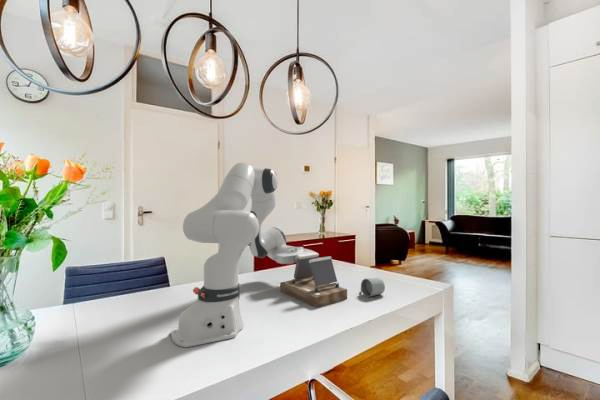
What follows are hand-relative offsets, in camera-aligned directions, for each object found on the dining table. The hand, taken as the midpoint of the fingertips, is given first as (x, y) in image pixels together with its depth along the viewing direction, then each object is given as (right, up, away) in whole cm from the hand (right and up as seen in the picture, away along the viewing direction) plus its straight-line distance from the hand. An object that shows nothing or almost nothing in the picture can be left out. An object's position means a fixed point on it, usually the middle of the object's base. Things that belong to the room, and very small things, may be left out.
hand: (305, 259), depth 139 cm
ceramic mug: (+29, -15, -6) cm, 33 cm away
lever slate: (+9, -9, -11) cm, 17 cm away
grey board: (-1, -9, +1) cm, 9 cm away
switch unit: (+3, -15, -6) cm, 16 cm away
